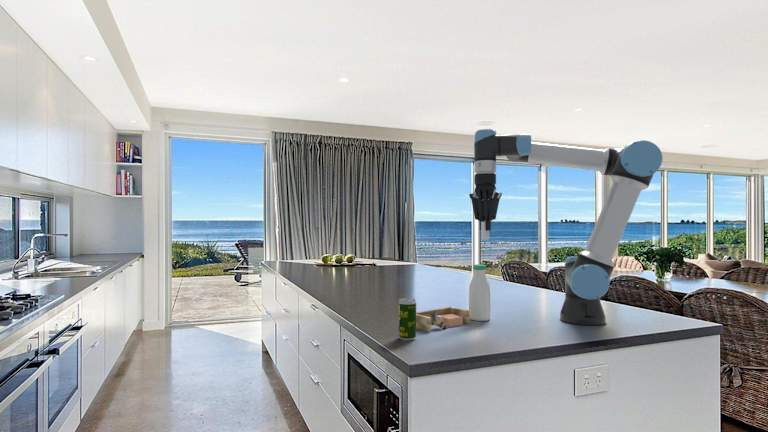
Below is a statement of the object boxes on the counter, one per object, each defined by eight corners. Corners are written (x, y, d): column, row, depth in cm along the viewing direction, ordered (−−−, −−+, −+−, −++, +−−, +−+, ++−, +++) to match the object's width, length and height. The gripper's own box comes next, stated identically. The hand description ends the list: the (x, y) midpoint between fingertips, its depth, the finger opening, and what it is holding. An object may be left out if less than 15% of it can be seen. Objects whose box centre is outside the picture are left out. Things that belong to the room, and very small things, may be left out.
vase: (425, 328, 155) (426, 310, 156) (434, 327, 159) (435, 309, 160) (439, 331, 152) (439, 312, 152) (448, 329, 156) (448, 311, 156)
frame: (469, 323, 163) (469, 310, 163) (428, 331, 151) (428, 318, 151) (450, 318, 170) (450, 306, 170) (409, 326, 158) (409, 313, 158)
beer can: (405, 335, 146) (405, 297, 146) (419, 338, 143) (419, 299, 143) (395, 338, 142) (395, 299, 142) (409, 341, 138) (409, 301, 139)
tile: (462, 325, 161) (462, 317, 161) (448, 327, 158) (448, 318, 158) (452, 322, 166) (452, 314, 166) (438, 324, 163) (438, 315, 163)
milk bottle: (490, 322, 165) (490, 266, 165) (468, 321, 167) (468, 265, 167) (490, 317, 173) (490, 264, 173) (469, 316, 174) (469, 263, 174)
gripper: (464, 174, 167) (464, 239, 167) (493, 171, 157) (493, 240, 157) (477, 175, 172) (477, 238, 172) (506, 172, 162) (506, 240, 161)
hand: (485, 239), depth 164 cm, fingers closed
